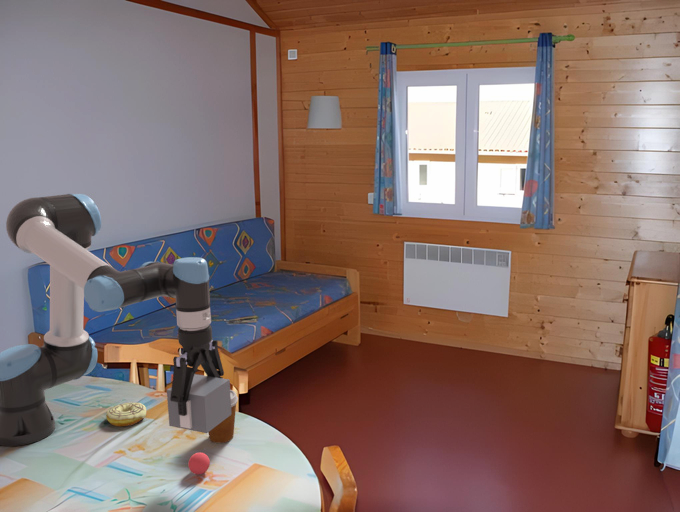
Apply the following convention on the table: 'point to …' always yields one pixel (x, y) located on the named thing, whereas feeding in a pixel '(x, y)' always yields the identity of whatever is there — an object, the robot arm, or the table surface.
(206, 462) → the ball
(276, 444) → the table surface
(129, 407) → the decorated donut
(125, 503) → the table surface
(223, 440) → the disposable coffee cup
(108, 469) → the table surface
